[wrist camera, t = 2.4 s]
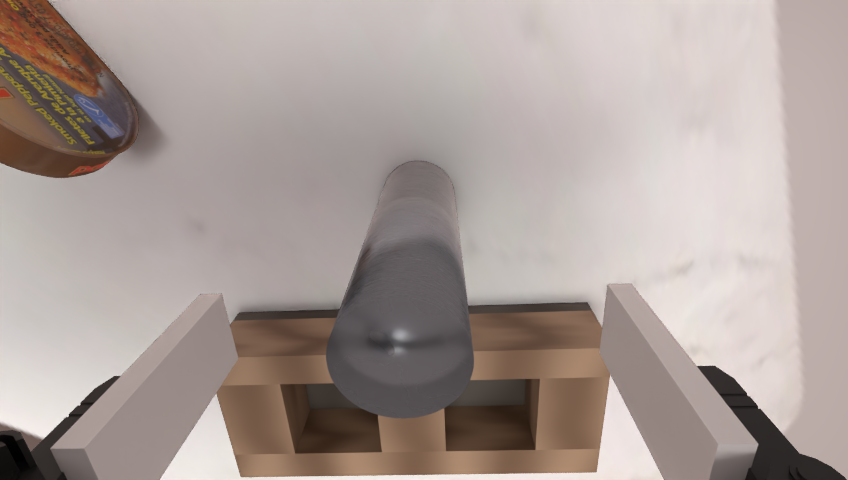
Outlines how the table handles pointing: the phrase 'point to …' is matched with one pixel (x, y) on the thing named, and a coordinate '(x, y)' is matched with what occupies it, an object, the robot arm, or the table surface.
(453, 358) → the pin
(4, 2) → the tin
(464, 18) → the table surface
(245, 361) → the bore block
